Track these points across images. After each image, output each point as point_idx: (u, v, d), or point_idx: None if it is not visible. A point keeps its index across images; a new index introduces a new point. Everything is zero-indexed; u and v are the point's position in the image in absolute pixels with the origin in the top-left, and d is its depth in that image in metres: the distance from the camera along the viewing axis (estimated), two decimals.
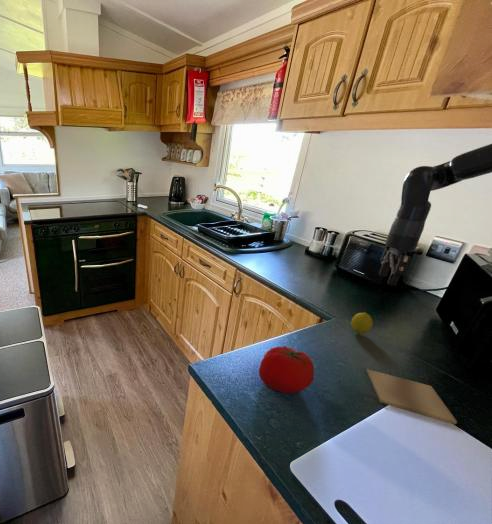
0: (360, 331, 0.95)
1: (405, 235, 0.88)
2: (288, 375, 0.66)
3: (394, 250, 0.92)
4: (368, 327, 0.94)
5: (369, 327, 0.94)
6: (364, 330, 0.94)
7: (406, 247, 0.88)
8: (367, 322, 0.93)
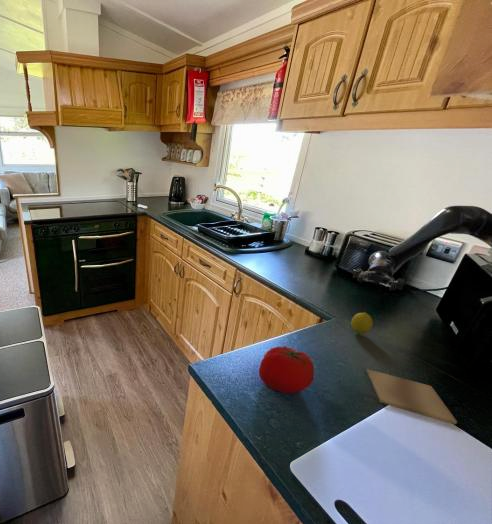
0: (360, 331, 0.95)
1: None
2: (288, 375, 0.66)
3: None
4: (368, 327, 0.94)
5: (369, 327, 0.94)
6: (364, 330, 0.94)
7: (367, 271, 1.11)
8: (367, 322, 0.93)
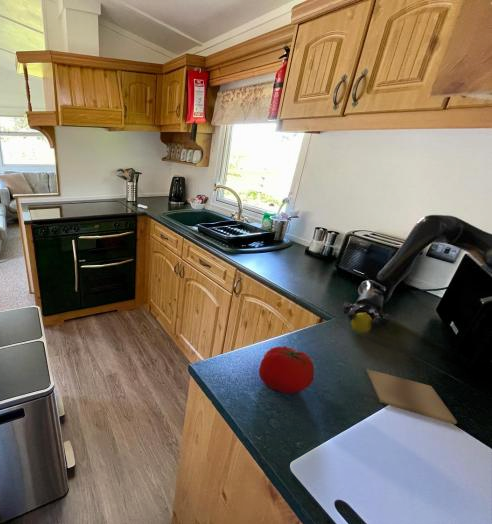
0: (360, 331, 0.95)
1: None
2: (288, 375, 0.66)
3: None
4: (368, 327, 0.94)
5: (369, 327, 0.94)
6: (364, 330, 0.94)
7: (355, 303, 1.05)
8: (367, 322, 0.93)
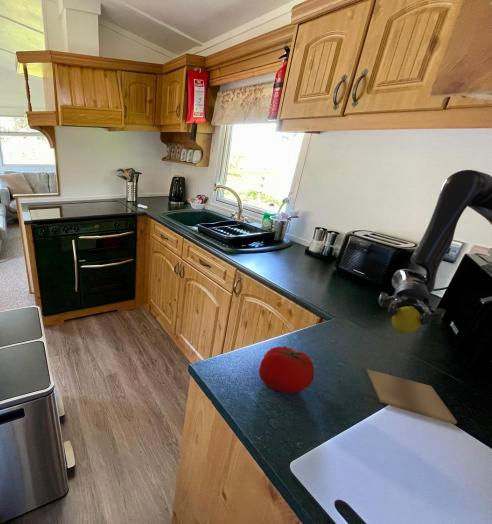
0: (405, 330, 0.75)
1: None
2: (288, 375, 0.66)
3: None
4: (416, 325, 0.73)
5: (417, 325, 0.73)
6: (410, 329, 0.74)
7: (394, 295, 0.85)
8: (414, 318, 0.73)
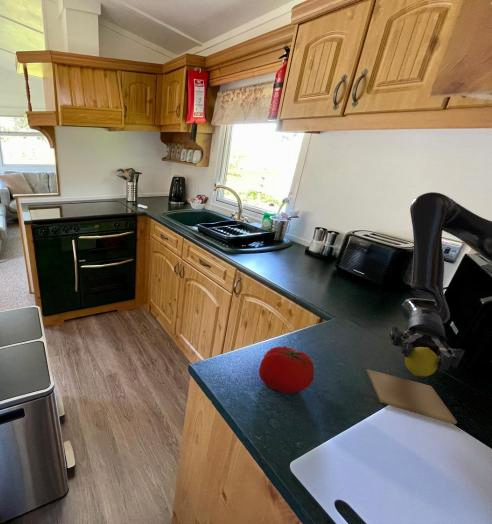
0: (420, 374, 0.67)
1: (405, 328, 0.80)
2: (288, 375, 0.66)
3: None
4: (433, 369, 0.66)
5: (434, 369, 0.66)
6: (426, 373, 0.67)
7: (406, 329, 0.77)
8: (431, 362, 0.66)
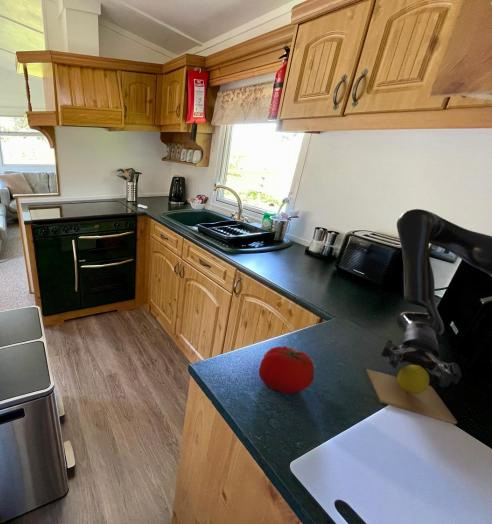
0: (412, 391, 0.69)
1: (400, 342, 0.82)
2: (288, 375, 0.66)
3: None
4: (424, 387, 0.68)
5: (425, 387, 0.68)
6: (418, 390, 0.68)
7: (401, 344, 0.79)
8: (422, 380, 0.67)
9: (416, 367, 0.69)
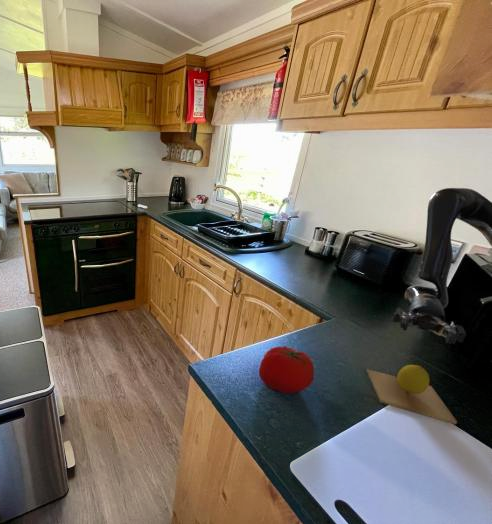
0: (412, 391, 0.69)
1: (409, 311, 0.89)
2: (288, 375, 0.66)
3: None
4: (424, 387, 0.68)
5: (425, 387, 0.68)
6: (418, 390, 0.68)
7: (409, 311, 0.86)
8: (422, 380, 0.67)
9: (416, 367, 0.69)
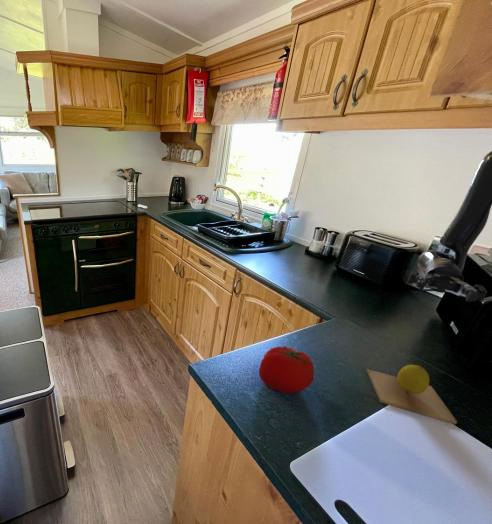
0: (412, 391, 0.69)
1: (424, 275, 0.85)
2: (288, 375, 0.66)
3: None
4: (424, 387, 0.68)
5: (425, 387, 0.68)
6: (418, 390, 0.68)
7: (425, 274, 0.82)
8: (422, 380, 0.67)
9: (416, 367, 0.69)
